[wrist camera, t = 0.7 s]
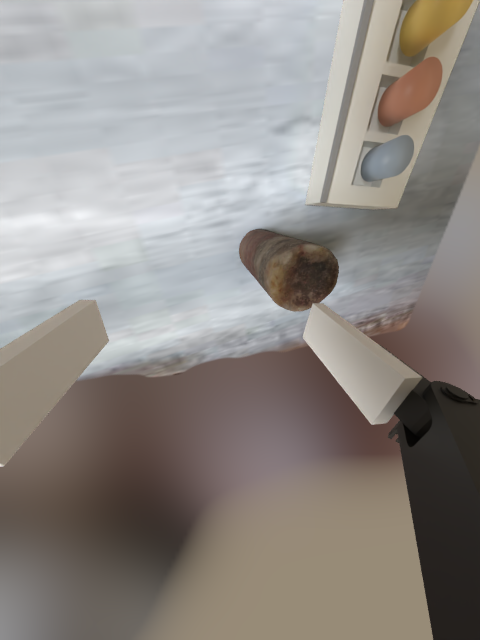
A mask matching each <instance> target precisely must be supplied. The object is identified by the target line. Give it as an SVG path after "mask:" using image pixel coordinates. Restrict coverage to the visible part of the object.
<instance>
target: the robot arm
mask: <svg viewBox="0 0 480 640" xmlns="http://www.w3.org/2000/svg"><path fill="white" fill-rule="evenodd" d="M303 338H304V340H305V341H306V342H307V343H308V345H309V346H310V347H311V348H312V350H313V351H314V352H315V353H316V355H317V356H318V357H319V358H320V360H321V361H322V362H323V364H324V365H325V366H326V367H327V369H328V370H329V371H330V372H331V374H332V375H333V376H334V377H335V379H336V380H337V381H338V382H339V384H340V385H341V386H342V388H343V389H344V390H345V391H346V393H347V394H348V395H349V396H350V398H351V399H352V400H353V401H354V403H355V404H356V405H357V407H358V408H359V409H360V410H361V412H362V413H363V414H364V415H365V417H366V418H367V419H368V420H369V422H370V423H371V424H372V425H373V424H382V423H387V422H388V421H389V420H390V418H391V417H392V416H393V415H394V414H395V415H396V416H397V417H398V418H399V419H400V421H399V422H398V423H397V424H396V426H395V427H394V428H393V429H392V430H391V432H390V433H389V435H388V438H390V439H392V437H393V436H394V435H395V434H398V439H397V440H396V442H398V443H400V448H401V454H402V460H403V466H404V472H405V478H406V484H407V489H408V495H409V501H410V507H411V513H412V518H413V524H414V529H415V535H416V541H417V547H418V553H419V559H420V565H421V571H422V576H423V582H424V588H425V594H426V599H427V605H428V611H429V617H430V623H431V628H432V634H433V640H480V400H478V399H475V398H474V397H473V396H471V395H470V394H468V393H467V392H465V391H463V390H461V389H460V388H458V387H455V386H453V385H451V384H448V383H445V382H440V381H434V382H430V381H428V380H427V379H426V378H424V377H423V376H422V375H420V374H419V373H418V372H416V371H414V370H413V369H412V368H411V367H409V366H408V365H407V364H405V363H404V362H403V361H401V360H399V359H398V358H397V357H396V356H394V355H393V354H390V352H389V351H388V350H386V349H385V348H384V347H382V346H381V345H378V344H377V343H375V342H374V341H373V340H372V339H370V338H369V337H367V336H366V335H365V334H363V333H362V332H361V331H359V330H358V329H357V328H355V327H354V326H353V325H351V324H350V323H349V322H347V321H346V320H345V319H343V318H342V317H340V316H339V315H338V314H336V313H335V312H334V311H332V310H331V309H330V308H328V307H327V306H326V305H324V304H320V303H313V304H312V307H311V311H310V314H309V317H308V321H307V324H306V328H305V331H304V334H303ZM108 341H109V339H108V336H107V333H106V330H105V327H104V324H103V321H102V318H101V315H100V312H99V309H98V306H97V303H96V300H79V301H77V302H76V303H74V304H73V305H71V306H69V307H68V308H66V309H64V310H63V311H61V312H60V313H58V314H56V315H55V316H53V317H51V318H50V319H48V320H47V321H45V322H43V323H42V324H40V325H38V326H37V327H35V328H33V329H32V330H30V331H29V332H27V333H25V334H24V335H22V336H20V337H19V338H17V339H16V340H14V341H12V342H11V343H9V344H7V345H6V346H4V347H3V348H1V349H0V467H1V466H5V465H6V463H7V462H8V461H9V460H10V459H11V457H12V456H13V455H14V454H15V453H16V452H17V450H18V449H19V448H20V447H21V445H22V444H23V443H24V442H25V441H26V439H27V438H28V437H29V436H30V434H32V432H33V431H34V430H35V429H36V428H37V426H38V425H39V424H40V423H41V422H42V420H43V419H44V418H45V416H47V414H48V413H49V412H50V411H51V410H52V408H53V407H54V406H55V405H56V404H57V402H58V401H59V400H60V399H61V398H62V396H63V395H64V394H65V393H66V392H67V390H68V389H69V388H70V387H71V386H72V384H73V383H74V382H75V381H76V380H77V379H78V377H79V376H80V375H81V374H82V373H83V371H84V370H85V369H86V368H87V367H88V365H89V364H90V363H91V362H92V361H93V359H94V358H95V357H96V356H97V355H98V353H99V352H100V351H101V350H102V349H103V347H104V346H105V345H106V344H107V343H108Z"/></svg>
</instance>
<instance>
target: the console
mask: <svg viewBox="0 0 480 640" xmlns="http://www.w3.org/2000/svg"><path fill="white" fill-rule="evenodd" d="M415 1H416V0H343V4H342V9H341V15H340V20H339V25H338V31H337V36H336V41H335V47H334V52H333V57H332V63H331V68H330V74H329V79H328V84H327V90H326V95H325V100H324V106H323V111H322V116H321V122H320V127H319V132H318V138H317V143H316V149H315V154H314V159H313V165H312V170H311V175H310V181H309V186H308V191H307V197H306V202H305V205H314V206H328V207H343V208H357V209H371V210H376V209H392V208H397V207H398V204H399V202H400V199H401V197H402V194H403V192H404V189H405V187H406V184H407V182H408V179H409V177H410V174H411V172H412V169H413V167H414V164H415V162H416V159H417V157H418V154H419V152H420V149H421V147H422V144H423V142H424V139H425V137H426V134H427V132H428V129H429V127H430V124H431V122H432V119H433V117H434V114H435V112H436V109H437V107H438V104H439V102H440V99H441V96H442V94H443V91H444V89H445V86H446V84H447V81H448V79H449V76H450V74H451V71H452V69H453V66H454V64H455V61H456V59H457V56H458V54H459V51H460V49H461V46H462V44H463V41H464V39H465V36H466V34H467V31H468V29H469V26H470V24H471V21H472V19H473V16H474V14H475V11H476V9H477V6H478V4H479V1H480V0H473V2H472V4H471V6H470V7H469V9H468V10H467V12H466V13H465V15H464V16H463V17H462V18H461V19H460V20H459V21H458V22H456V23H455V24H454V25H453V26H451V27H450V28H449V29H448V30H446V31H445V32H444V33H443V34H441V35H440V36H439V37H438V38H436V39H435V40H434V41H433V42H431V43H430V44H429V45H428V46H426V47H425V48H424V49H423V50H421V51H420V52H419V53H418V54H416V55H415V56H412V57H408V56H405V55H404V54H403V53H402V51H401V48H400V41H399V38H400V30H401V26H402V22H403V20H404V17H405V15H406V13H407V11H408V10H409V8H410V7H411V6H412V5H413V3H414V2H415ZM429 57H436V58H438V59H439V60H440V62H441V64H442V70H443V73H442V81H441V84H440V87H439V90H438V92H437V94H436V96H435V98H434V99H433V101H432V102H431V103H430V104H429V105H428V106H427V107H426V108H425V109H423V110H421V111H419V112H417V113H415V114H413V115H411V116H409V117H408V118H406V119H404V120H402V121H400V122H398V123H396V124H394V125H392V126H390V127H385V126H383V125H381V123H380V122H379V119H378V106H379V102H380V99H381V97H382V95H383V93H384V92H385V90H386V89H387V88H388V87H389V86H390V85H391V84H393V83H394V82H395V81H397V80H398V79H399V78H401V77H402V76H403V75H405V74H406V73H407V72H409V71H410V70H411V69H413V68H414V67H415V66H417V65H418V64H419V63H421V62H422V61H423V60H425V59H426V58H429ZM402 135H408V136H410V137H411V138H412V139H413V142H414V153H413V157H412V159H411V161H410V163H409V165H408V166H407V168H406V169H405V170H404V171H403V172H402V173H401V174H399V175H397V176H394V177H389V178H385V179H381V180H377V181H372V182H367V181H365V180H364V179H363V178H362V176H361V164H362V161H363V159H364V157H365V155H366V154H367V153H368V152H369V151H370V150H371V149H372V148H374V147H376V146H379V145H381V144H383V143H386V142H388V141H390V140H392V139H395V138H397V137H399V136H402Z"/></svg>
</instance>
